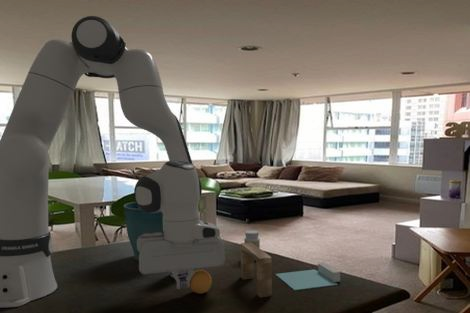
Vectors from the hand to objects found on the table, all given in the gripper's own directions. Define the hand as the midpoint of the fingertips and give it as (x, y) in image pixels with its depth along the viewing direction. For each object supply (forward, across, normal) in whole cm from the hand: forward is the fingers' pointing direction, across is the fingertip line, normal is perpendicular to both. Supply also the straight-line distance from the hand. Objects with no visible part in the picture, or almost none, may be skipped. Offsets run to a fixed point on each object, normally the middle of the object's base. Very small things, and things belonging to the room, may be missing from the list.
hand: (183, 287), depth 93 cm
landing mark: (+2, +32, +1) cm, 32 cm away
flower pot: (+2, -4, +33) cm, 34 cm away
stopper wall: (+2, +39, +1) cm, 39 cm away
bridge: (+2, +18, +1) cm, 18 cm away
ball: (-1, +4, 0) cm, 4 cm away
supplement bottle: (+3, +25, +23) cm, 34 cm away
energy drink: (+2, +1, +14) cm, 15 cm away
